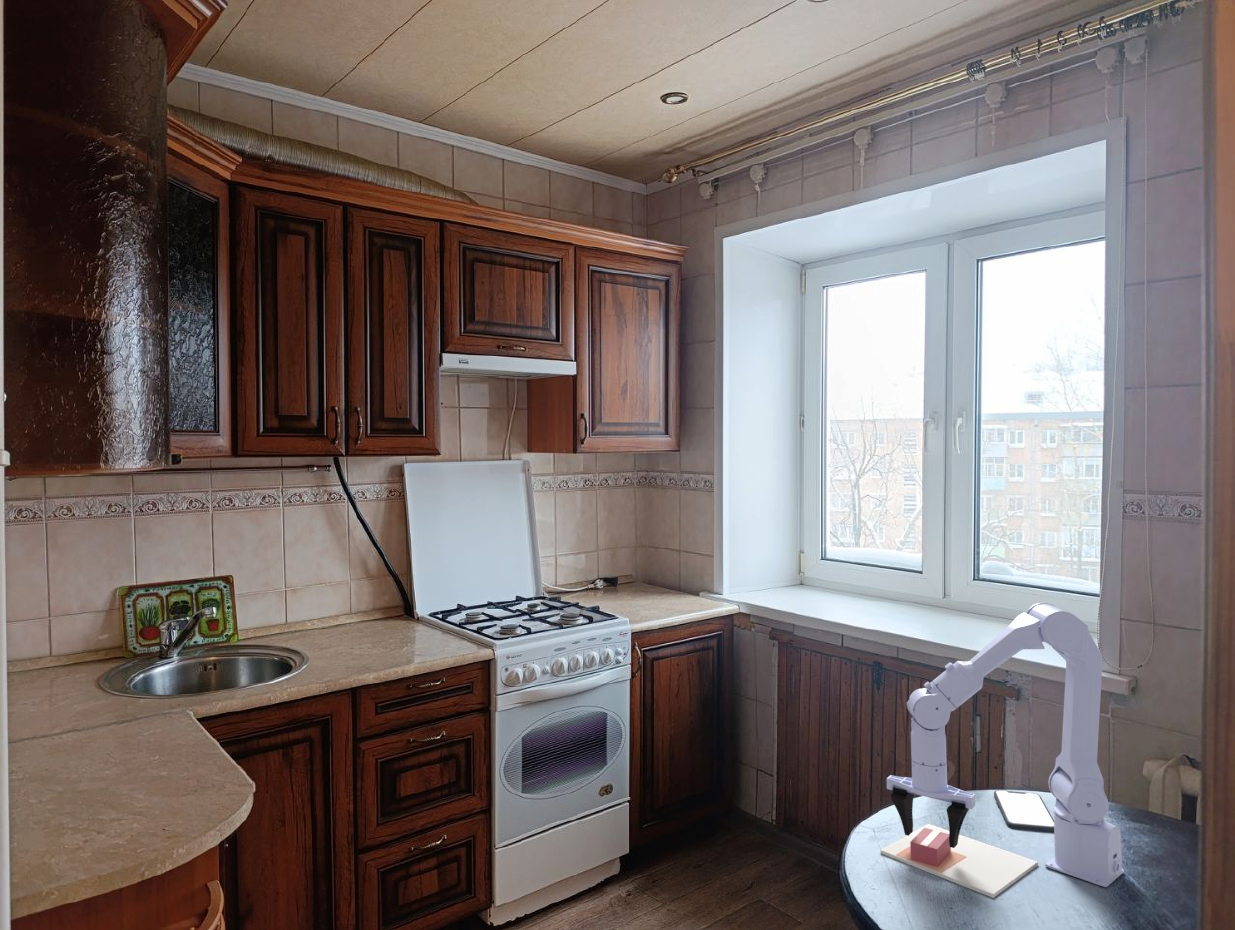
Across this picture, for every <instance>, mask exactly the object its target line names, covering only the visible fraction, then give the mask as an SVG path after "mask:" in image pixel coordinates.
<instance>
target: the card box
mask: <svg viewBox="0 0 1235 930" xmlns="http://www.w3.org/2000/svg"><path fill="white" fill-rule="evenodd" d="M910 848H911V860H915V861H918V862H921V863H925V864H928V865H932V866H935V867H938V866H939V865H940V864H941V863H942V861H943V860H944V859H945V858H946V857H947V856H948V854H949V853H950V852H951V847H950V845H949V834H947V833H943V832H941V831H937V830H932V829H928V828H924V829H923V830H922V831H921V832H920V833H919V834H918V835H917V836H916V837H915V838H914V839H913V840H912V841H911V842H910Z"/></svg>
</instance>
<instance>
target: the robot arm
mask: <svg viewBox="0 0 1235 930" xmlns="http://www.w3.org/2000/svg"><path fill="white" fill-rule="evenodd" d="M1044 643H1046V644H1047V645H1049V646H1050V647H1052V649H1053V650H1054V651H1055V652H1057V654H1058V655H1060V657H1062V659H1063V660H1065V663H1066V664H1065V665H1066V666H1065V678H1064V679H1065V680H1064V697H1063V699H1064V700H1063V715H1062V716H1063V719H1062V733H1061V736H1062V737H1061V751H1060V753H1059V754H1058V756H1057V757H1055V764H1054V768H1053V770H1052V771H1051V774H1049V777H1048V783H1047V784H1048V788H1049V791H1050V793H1051V795H1052V796H1054V798H1055V803H1054V806H1053V820H1054V832H1053V833H1054V836H1053V837H1054V838H1053V839H1054V841H1053V842H1054V856H1053V857H1052V858H1051V859H1049V860H1048V861H1046V862H1045V864H1044V866H1045V867H1046V868H1048V869H1051V870H1054V871H1057V872H1060V873H1062V874H1065V875H1069V876H1072V877H1075V878H1078V879H1081V880H1083V881H1086V882H1088V883H1092V884H1095V885H1097V886H1100V887H1102V888H1107V887H1109V886H1110V885H1111V884H1112V883H1113V882H1114V881H1116V879H1118V878H1119V877H1120V876H1122V874H1124V872H1125V870H1124V868H1123V853H1122V852H1123V851H1122V850H1123V849H1122V834H1121V829H1120V827H1119V826H1117V825H1115V824H1112V823H1110V822H1108V821H1107V820H1106V819H1105V817H1106V816H1107V815H1108V812H1109V808H1110V804H1109V800H1108V797H1107V795H1106V793H1105V788H1104V783H1105V782H1104V781H1105V780H1104V778H1103V775H1102V772H1101V769H1100V766H1099V764H1098V753H1099V751H1098V750H1099V748H1098V747H1099V733H1100V732H1099V731H1100V715H1101V713H1100V710H1101V693H1102V679H1103V678H1102V675H1103V655H1102V652H1101V651H1100V648H1099V647H1098V646H1097V644H1096V641H1095V640H1094V638H1093V637H1092V635H1091V633H1090V631H1089V626H1088V625H1087V624H1086V623H1085V622H1084V621H1082V620H1081V619H1080V618H1079V617H1078V616H1076V615H1075V614H1073V613H1072V612H1069V611H1066V610H1063V609H1061V608H1058V607H1057V606H1055V605H1054V604H1052V603H1048V602H1038V603H1037V602H1036V603H1035V604H1032V605H1031V606H1030V607H1029V608H1028V609H1027V610H1026V611H1024V612H1022V613H1020V614H1019V615H1017V616H1016V617H1015V618H1014V619H1013V620H1012V622H1011V623H1010V624H1009V625H1008V626H1007V627H1006V628H1005V629H1003V630H1002V631H1001V632H1000V633H999V634H997V636H996V637H994V638H993V639H992V640H991V641H990V642H989V643H988V644H987V645H986V646H984V647H983V648H982V649H981V650H980V651H978V652H977V654H975V655H974V656H973V657H972V658H970V660H968V661H965V660H957V661H955V662H954V663H952V662H947V664H946V665H944V668H945V670H944V671H943V672H941V674H939V675H938V676H937V677H936V678H934V679H933V680H932V681H931V682H929V681H926V682H925V683H923V686H924V687H922V688H917V689H915V690H914V691H913V692H912V693H910V696H909V697H908V698H909V699H908V700H907V701H906V707H907V710H908V712H909V713H910V715H911V716H912V717H911V722H910V726H911V727H910V728H911V731H910V751H911V754H910V755H911V758H910V759H911V777H906V776H897V775H892V774H890V775H889V776H888V777H886V789H887V790H889V791H892V793H891V794H890V801H892V803H893V805H894V806H895V808H896V811H897V812H898V815H899V818H900V821H901V824H902V828H903V832H904V833H903V834H904V835H905V836H909V835H910V834H911V833H912V832H914V821H913V820H914V817H913V805H914V795H916V796H917V795H918V796H921V797H924V798H929V799H933V800H938V801H943V802H947V803H950V804H949V806H948V807H947V808H946V815H947V820H948V821H947V822H948V826H949V827H948V831H949V845H950V847H952V848H955V847H956V845H957V844H958V837H959V835H960V833H961V828H962V825H963V822H964V821H965V819H966V818H965V817H966V816H967V813H968V812H969V810H973V809H974V808H975V806H976V794H975V793H971V792H967V791H965V790H962V789H960V788H957V787H954V786H952V785H949V784H948V765H947V763H948V762H947V736H946V725H947V724H948V723H949V721H950V717H951V712H953V711H955V710H957V709H958V708H959V707H960V706H962V705H963V704H964V703H965V702H966V701H968V700H969V699H970V698H972V697H973V696H974V695H975V694H977V692H979V691H980V690H981V689H983V686H984V685H983V684H984V679H985V677H986V676H987V675H988V674H989V673H991V672H992V671H994V670H995V669H997V668H998V667H1000V666H1001V665H1002V664H1004V663H1005V662H1006V661H1008V660H1009V659H1010V658H1012V657H1014V656H1015V655H1016V654H1018V653H1019V652H1021V651H1023V650H1045V649H1046V648H1045V646H1044Z"/></svg>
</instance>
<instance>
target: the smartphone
mask: <svg viewBox="0 0 1235 930" xmlns="http://www.w3.org/2000/svg"><path fill="white" fill-rule="evenodd" d="M993 798H994V800H995V802H996V805H997V807H998V809H999V811H1000V814H1001V815H1002V818H1003V820H1004V822H1005V825H1006V826H1007V827H1008V828H1009V829H1013V830H1022V831H1023V830H1024V831H1034V832H1043V833H1054V817H1053V816H1052V815H1051V813H1050V811H1049V808H1048V807H1047V806H1046V804H1045V802H1044V800H1043V798H1042V796H1040V794H1037V793H1034V792H1023V791H1011V790H995V791H994V792H993Z"/></svg>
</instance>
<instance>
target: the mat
mask: <svg viewBox="0 0 1235 930" xmlns="http://www.w3.org/2000/svg"><path fill="white" fill-rule="evenodd" d="M924 828H928V829H932V830H937V831H941V832H943V833H947V834H949V829H948V830H947V829H945V828H942V827H939V826H936V825H933V824H930V823H927V824H925V825H923V826H921V827H920V828H918V829H916V830H913V832H912V833H911V834H910V835H909V836H907V835H905V836H903V837H901V838H900V839H898V840H896V841H894V842H892V843H890V844H889V845H887V846H884V847H883V848H881V849H880V854H881V855H884V856H887V857H889V858H892V859H893V860H897V861H899V862H901V863H903V864H906V865H909V866H912V867H914V868H916V869H919V870H921V871H924V872H927V873H929V874H932V875H935V876H937V877H939V878H942V879H944V880H947V881H949V882H952V883H954V884H957V885H959V886H962V887H964V888H967V889H970V890H973V891H975V892H978V893H979V894H983V895H984V896H988V897H989V898H992V899H994V898H995V897H997V896H999V894H1001V893H1003V892H1004V891H1005V890H1006V889H1008V888H1009V887H1011V886H1012V885H1013V884H1015V883H1017V881H1019V880H1020V879H1021V878H1023V877H1024V876H1025V875H1027V874H1028V873H1029V872H1031V871H1032V870H1034V869H1035V868H1037V867H1038V866H1039V862H1038V861H1037V860H1034V859H1031V858H1029V857H1026V856H1023V855H1020V854H1018V853H1015V852H1011V851H1009V850H1005V849H1002V848H999V847H997V846H993V845H991V844H987V843H985V842H982V841H979V840H976V839H973V838H971V837H967V836H965V835H962V834H959V837H958V844H957V845H956V847H955V848H952V847H951V852H950V853H949V854H948V856H947V857H946V858H945V859H944V860H943V861H942V863H941V864H940V865H939V866H938V867H935V866H932V865H928V864H925V863H921V862H918V861H915V860H911V848H910V842H911V841H912V840H913V839H914V838H915V837H916V836H917V835H918V834H919V833H920V832H921V831H922V830H923V829H924Z"/></svg>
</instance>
